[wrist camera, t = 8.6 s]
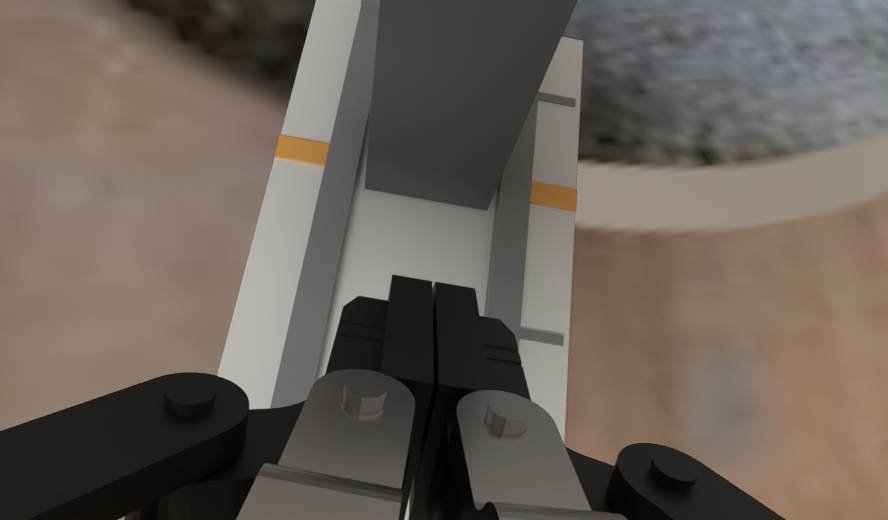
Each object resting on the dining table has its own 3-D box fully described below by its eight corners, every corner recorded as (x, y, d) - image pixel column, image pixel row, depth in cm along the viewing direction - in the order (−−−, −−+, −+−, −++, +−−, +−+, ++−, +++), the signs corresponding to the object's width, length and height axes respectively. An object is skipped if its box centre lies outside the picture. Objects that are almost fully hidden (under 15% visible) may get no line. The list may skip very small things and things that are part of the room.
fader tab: (486, 210, 23) (610, -77, 13) (364, 188, 22) (389, -125, 12) (495, 134, 24) (613, -183, 14) (379, 112, 24) (413, -228, 13)
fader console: (539, 720, 18) (562, 736, 16) (147, 673, 17) (125, 685, 15) (575, 58, 27) (592, 22, 25) (319, 7, 26) (318, -34, 25)
